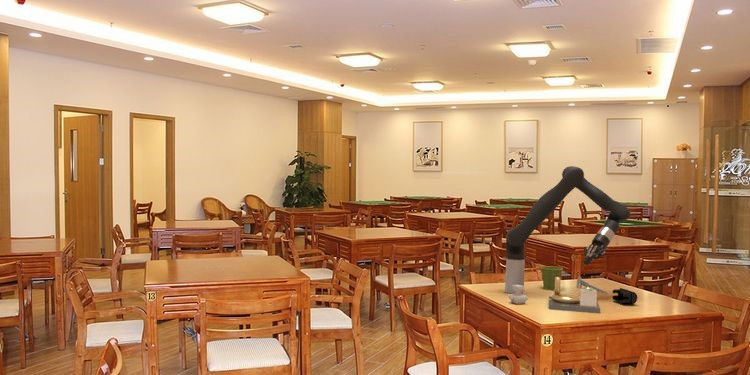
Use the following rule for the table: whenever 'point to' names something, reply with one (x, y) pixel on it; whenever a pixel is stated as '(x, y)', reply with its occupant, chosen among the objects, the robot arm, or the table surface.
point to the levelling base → (572, 306)
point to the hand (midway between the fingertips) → (585, 263)
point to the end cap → (624, 297)
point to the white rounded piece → (518, 295)
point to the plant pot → (550, 276)
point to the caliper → (588, 285)
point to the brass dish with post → (563, 297)
